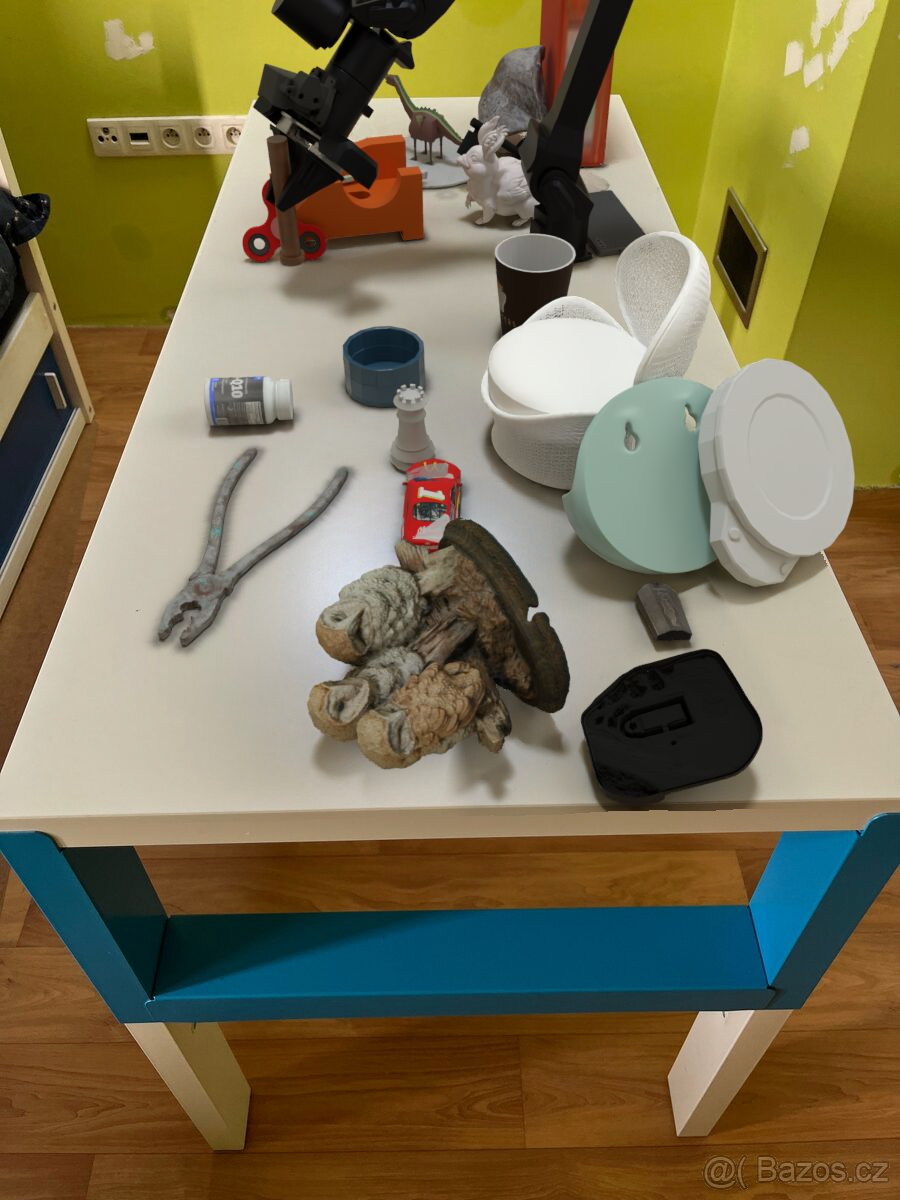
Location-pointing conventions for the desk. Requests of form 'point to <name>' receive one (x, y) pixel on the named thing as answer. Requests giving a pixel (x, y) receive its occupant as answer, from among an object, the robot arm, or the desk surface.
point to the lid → (773, 470)
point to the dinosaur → (430, 142)
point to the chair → (593, 356)
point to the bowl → (382, 364)
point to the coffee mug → (531, 275)
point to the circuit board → (513, 139)
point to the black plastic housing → (670, 728)
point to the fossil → (515, 91)
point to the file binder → (558, 35)
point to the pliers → (213, 588)
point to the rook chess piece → (411, 429)
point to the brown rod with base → (286, 220)
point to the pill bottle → (247, 400)
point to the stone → (593, 181)
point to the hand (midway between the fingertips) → (274, 205)
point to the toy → (272, 237)
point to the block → (663, 612)
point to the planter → (644, 481)
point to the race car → (430, 502)
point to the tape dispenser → (371, 197)
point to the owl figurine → (436, 651)
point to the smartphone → (611, 225)
